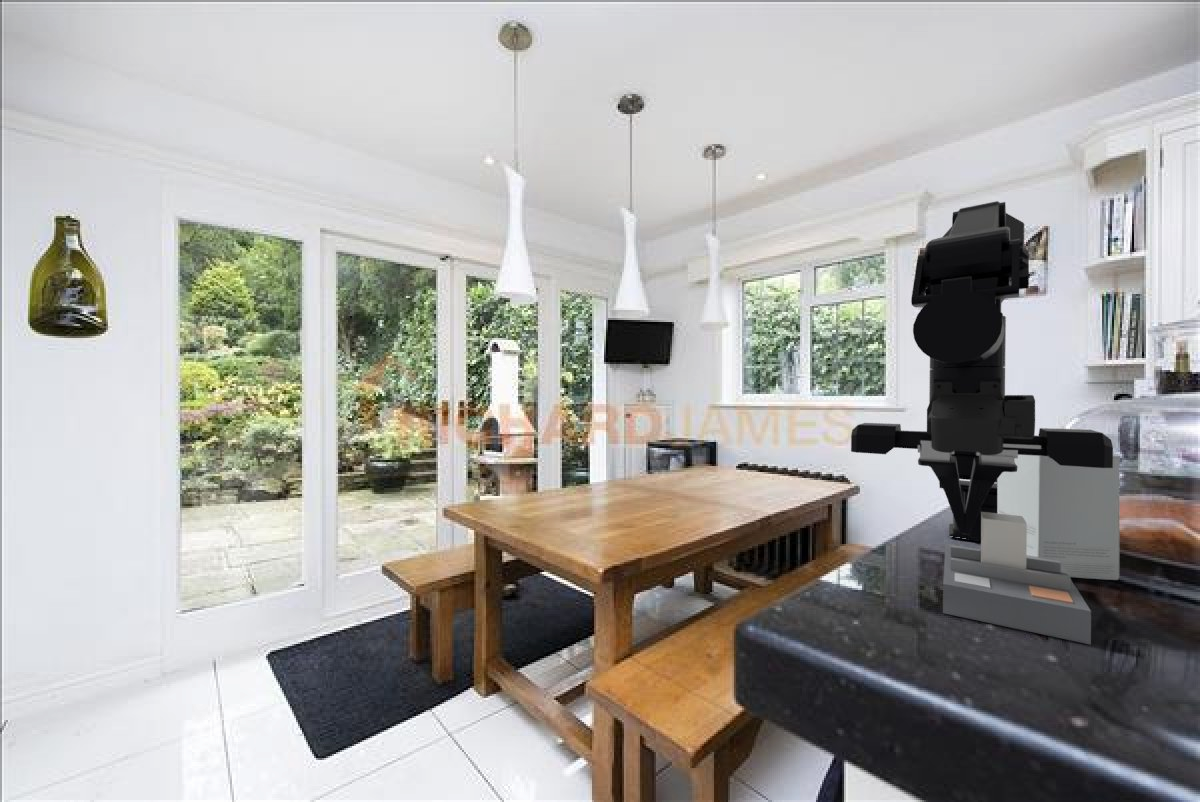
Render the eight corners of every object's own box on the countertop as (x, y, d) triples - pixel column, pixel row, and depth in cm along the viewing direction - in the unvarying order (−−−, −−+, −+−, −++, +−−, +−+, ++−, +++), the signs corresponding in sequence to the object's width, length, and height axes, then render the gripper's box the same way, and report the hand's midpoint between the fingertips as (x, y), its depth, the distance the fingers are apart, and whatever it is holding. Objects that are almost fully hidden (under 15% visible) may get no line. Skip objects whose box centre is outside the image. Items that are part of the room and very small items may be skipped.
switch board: (945, 566, 53) (945, 534, 53) (1058, 585, 48) (1058, 549, 48) (942, 613, 42) (943, 572, 42) (1090, 644, 36) (1091, 597, 36)
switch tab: (980, 561, 47) (981, 511, 47) (1022, 567, 45) (1022, 516, 45) (982, 571, 44) (982, 518, 44) (1026, 578, 42) (1026, 523, 42)
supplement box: (1122, 581, 49) (1124, 455, 48) (1036, 576, 50) (1037, 453, 50) (1068, 557, 56) (1069, 447, 56) (994, 553, 57) (995, 446, 57)
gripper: (840, 368, 45) (839, 536, 45) (1134, 359, 34) (1131, 581, 34) (860, 372, 54) (859, 512, 54) (1097, 366, 43) (1095, 543, 43)
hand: (964, 533), depth 46 cm, fingers closed
